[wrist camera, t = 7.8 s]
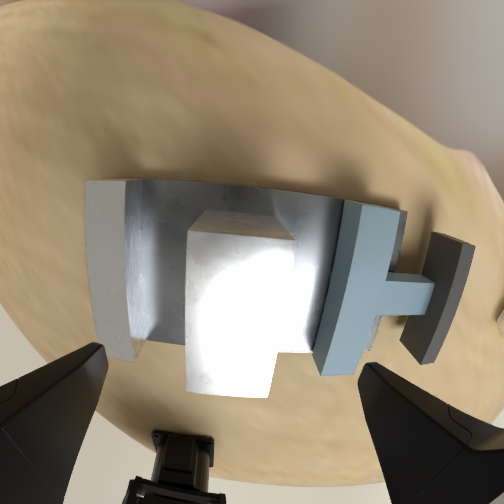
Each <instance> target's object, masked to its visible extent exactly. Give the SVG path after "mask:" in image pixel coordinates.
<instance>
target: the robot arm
mask: <svg viewBox="0 0 504 504" xmlns="http://www.w3.org/2000/svg"><path fill="white" fill-rule="evenodd" d="M107 370H108V360H107V355H106V351H105V347H104V345H103V344H100V343H95V342H92V343H90V344H88V345H86V346H84V347H82V348H80V349H78V350H76V351H74V352H71V353H69V354H67V355H65V356H63V357H61V358H59V359H57V360H55V361H53V362H51V363H49V364H47V365H45V366H43V367H40V368H38V369H36V370H34V371H32V372H30V373H28V374H26V375H24V376H22V377H20V378H18V379H15V380H13V381H11V382H9V383H7V384H5V385H2V386H0V504H63V501H64V496H65V493H66V490H67V487H68V483H69V480H70V477H71V474H72V471H73V468H74V465H75V462H76V459H77V456H78V453H79V450H80V447H81V445H82V442H83V439H84V437H85V434H86V432H87V429H88V426H89V424H90V421H91V419H92V416H93V414H94V411H95V409H96V406H97V404H98V401H99V397H100V394H101V390H102V387H103V384H104V380H105V377H106V374H107ZM358 389H359V393H360V398H361V402H362V407H363V411H364V415H365V419H366V423H367V426H368V429H369V432H370V435H371V438H372V441H373V444H374V447H375V450H376V453H377V456H378V459H379V462H380V466H381V469H382V472H383V475H384V479H385V482H386V485H387V489H388V492H389V496H390V499H391V503H392V504H504V429H503V428H498V427H495V426H493V425H491V424H488V423H486V422H484V421H481V420H479V419H477V418H474V417H472V416H470V415H468V414H466V413H464V412H462V411H460V410H458V409H456V408H454V407H453V406H451V405H449V404H447V403H445V402H444V401H442V400H440V399H438V398H437V397H435V396H433V395H431V394H430V393H428V392H426V391H424V390H423V389H421V388H419V387H417V386H416V385H414V384H412V383H411V382H409V381H407V380H406V379H404V378H402V377H400V376H399V375H397V374H395V373H394V372H392V371H390V370H389V369H387V368H385V367H384V366H382V365H380V364H379V363H377V362H370V363H366V364H365V365H364V367H363V369H362V372H361V374H360V376H359V379H358ZM151 435H152V439H153V443H154V446H155V449H156V453H157V454H156V459H155V463H154V468H153V473H152V477H151V481H150V480H147V479H143V478H142V477H139V476H136V478H135V479H134V480H130V481H129V485H128V489H127V492H126V495H125V497H124V499H123V502H122V504H226V496H225V494H222V493H219V494H216V493H208V480H209V467H213V464H214V440H213V439H212V438H205V437H196V436H188V435H180V434H174V433H167V432H161V431H156V430H154V431H152V434H151ZM141 495H142V496H144V498H143V497H141Z"/></svg>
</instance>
